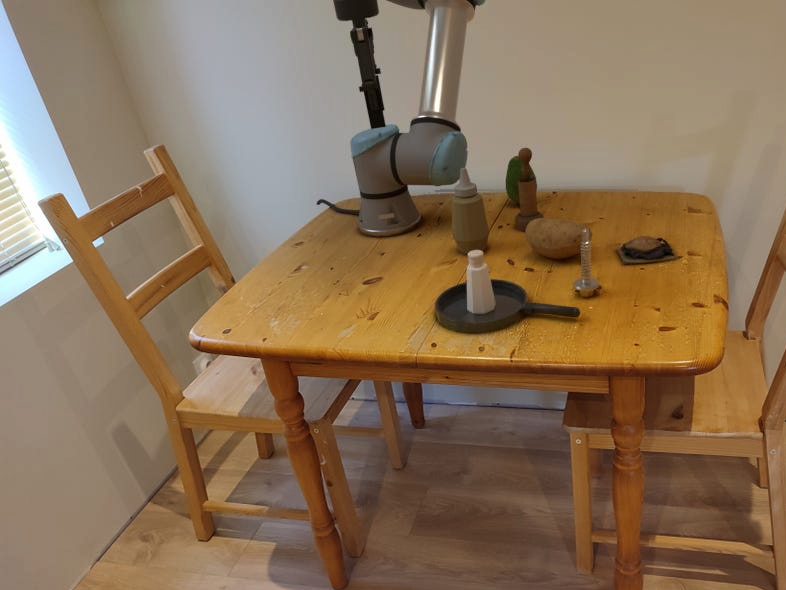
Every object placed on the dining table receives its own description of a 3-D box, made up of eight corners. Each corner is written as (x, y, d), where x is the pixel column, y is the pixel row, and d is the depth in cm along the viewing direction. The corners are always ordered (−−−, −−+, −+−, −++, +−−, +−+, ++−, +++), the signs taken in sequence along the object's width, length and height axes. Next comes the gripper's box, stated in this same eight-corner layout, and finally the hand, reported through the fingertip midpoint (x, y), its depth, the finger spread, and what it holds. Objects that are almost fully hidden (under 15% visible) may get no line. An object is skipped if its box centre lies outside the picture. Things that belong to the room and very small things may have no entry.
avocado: (508, 198, 170) (505, 152, 163) (538, 197, 168) (536, 150, 162) (505, 209, 163) (501, 162, 157) (536, 208, 162) (534, 160, 155)
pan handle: (519, 313, 116) (518, 304, 115) (523, 307, 118) (523, 299, 117) (578, 320, 112) (578, 311, 111) (581, 314, 114) (581, 305, 113)
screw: (574, 300, 120) (572, 288, 124) (601, 298, 119) (597, 286, 123) (572, 234, 113) (570, 224, 117) (601, 232, 112) (597, 221, 116)
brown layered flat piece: (623, 266, 130) (623, 249, 128) (615, 249, 137) (615, 233, 135) (677, 260, 129) (678, 243, 127) (666, 244, 136) (667, 227, 134)
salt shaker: (486, 317, 117) (480, 260, 111) (461, 311, 120) (454, 256, 114) (501, 303, 121) (496, 248, 115) (477, 298, 124) (470, 244, 118)
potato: (584, 269, 130) (583, 232, 126) (519, 262, 136) (516, 226, 132) (599, 250, 137) (598, 214, 133) (537, 244, 143) (535, 209, 139)
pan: (420, 326, 118) (418, 316, 116) (459, 284, 130) (458, 275, 129) (508, 338, 111) (507, 328, 110) (540, 293, 124) (540, 283, 123)
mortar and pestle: (511, 230, 151) (505, 152, 141) (520, 220, 156) (515, 144, 146) (539, 232, 149) (534, 152, 139) (547, 221, 154) (543, 144, 144)
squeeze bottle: (496, 243, 146) (489, 163, 136) (481, 258, 140) (472, 175, 130) (464, 240, 149) (454, 162, 139) (448, 255, 143) (437, 174, 133)
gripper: (335, -9, 123) (359, 107, 135) (328, 1, 102) (357, 138, 114) (374, -15, 124) (395, 102, 135) (375, -5, 103) (399, 132, 115)
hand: (378, 119), depth 125 cm, fingers open, 13 cm apart
